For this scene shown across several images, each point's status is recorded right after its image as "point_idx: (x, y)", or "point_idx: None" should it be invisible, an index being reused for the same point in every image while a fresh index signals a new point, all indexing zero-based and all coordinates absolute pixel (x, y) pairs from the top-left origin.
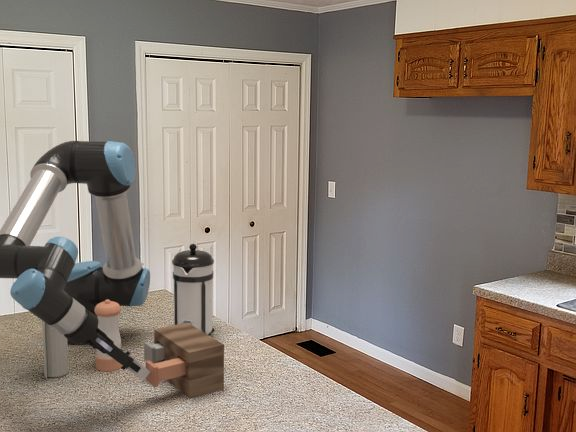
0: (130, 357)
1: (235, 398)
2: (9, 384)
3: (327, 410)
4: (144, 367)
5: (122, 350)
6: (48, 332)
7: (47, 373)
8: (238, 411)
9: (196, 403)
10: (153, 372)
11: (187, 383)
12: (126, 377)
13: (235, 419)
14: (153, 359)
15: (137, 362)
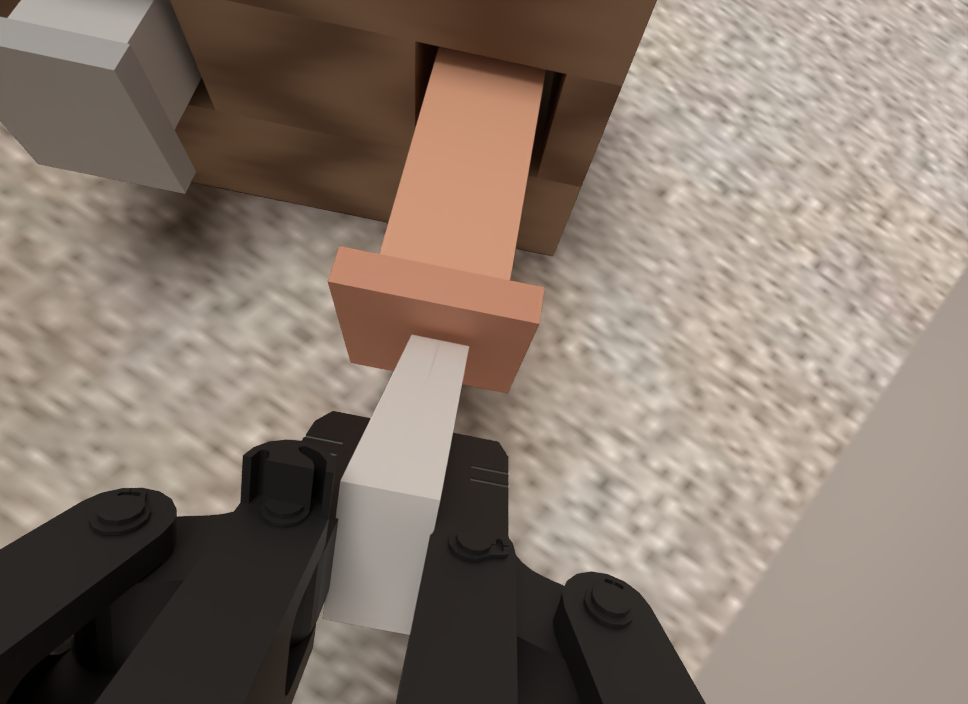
0: (696, 691)
1: (692, 128)
2: None
3: (964, 13)
4: (461, 383)
5: (144, 515)
6: None
7: None
8: (811, 199)
9: (625, 266)
10: (510, 342)
11: (552, 200)
12: (6, 323)
13: (873, 254)
14: (168, 146)
15: (450, 441)
